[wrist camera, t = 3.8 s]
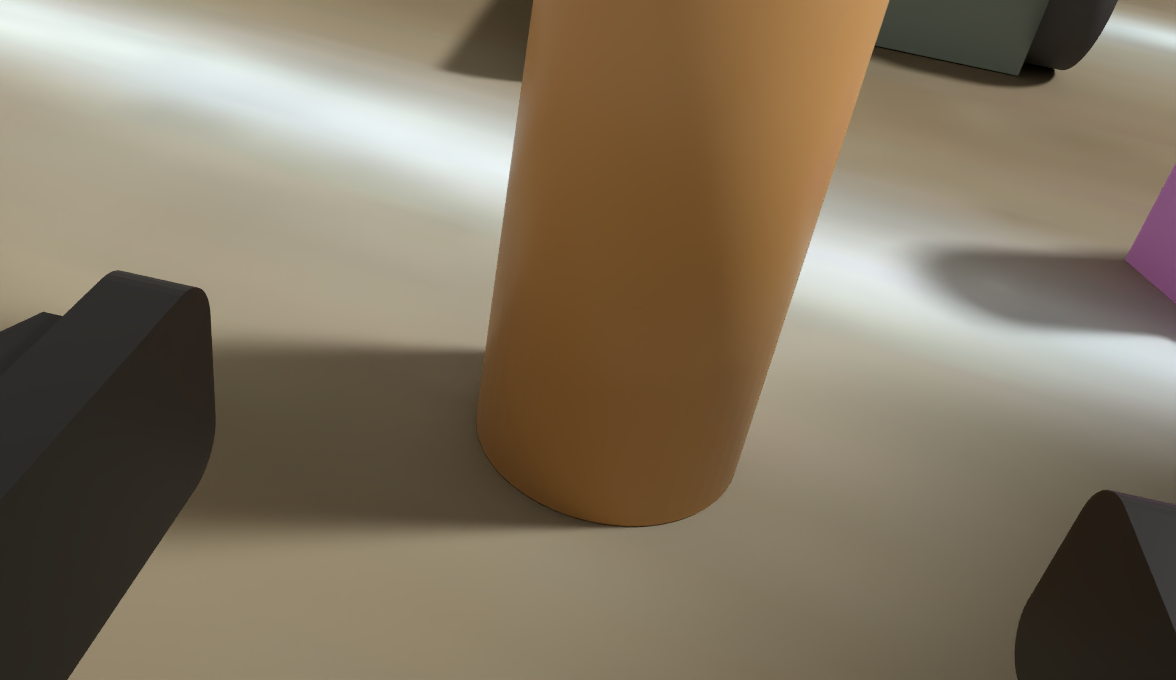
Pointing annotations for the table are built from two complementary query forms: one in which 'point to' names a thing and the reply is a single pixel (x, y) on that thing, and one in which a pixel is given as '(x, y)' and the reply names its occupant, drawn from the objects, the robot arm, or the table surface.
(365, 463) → the table surface
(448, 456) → the table surface
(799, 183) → the orange pill bottle
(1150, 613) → the robot arm
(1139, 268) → the bracket
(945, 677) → the table surface
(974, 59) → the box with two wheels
